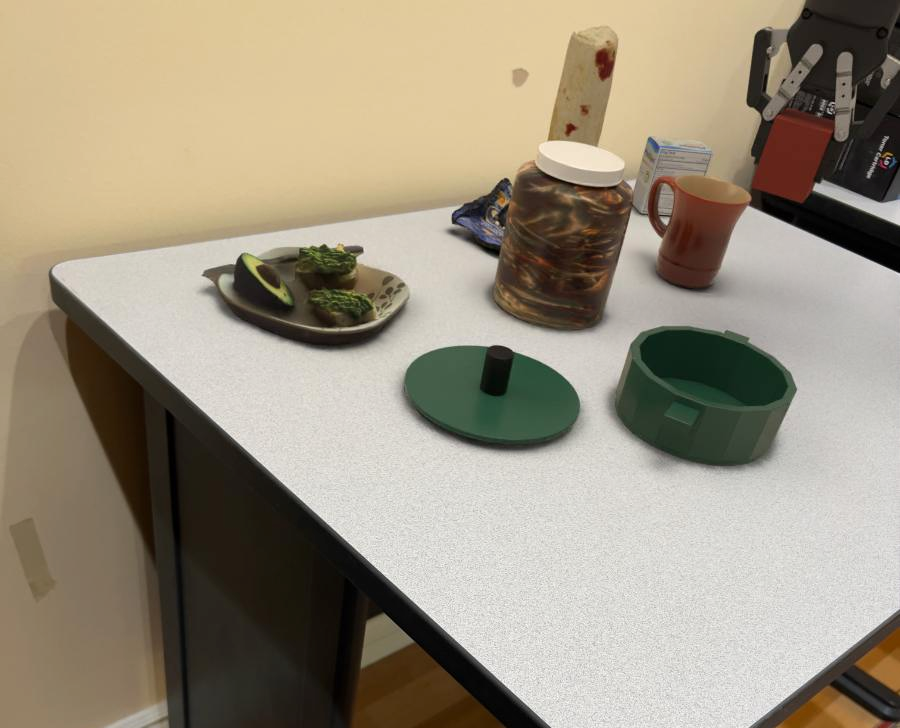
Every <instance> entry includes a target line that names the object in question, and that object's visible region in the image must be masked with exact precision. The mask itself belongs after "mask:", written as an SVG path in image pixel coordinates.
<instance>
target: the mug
mask: <svg viewBox="0 0 900 728" xmlns="http://www.w3.org/2000/svg"><path fill="white" fill-rule="evenodd" d="M664 183H665V184H667V185H668V186H670V188H671V190H672V192H673V193H674V197H673V207H672V212H671V215H669V219H668V221H667V224H666V223H664V221H663V220H662V219H661V217H660V215H659V212H658V204H659V197H660V193H661V189H662V187H663V185H664ZM751 202H752V195H751V194H750V193H749V192H748V190H746V189H744V188H743V187H741V186H739V185H737V184H736V183H732V182H730V181H727V180H725V179H720V178H717V177H712V176H708V175H706V176H702V175H693V174H690V175H681V176H678V177H676V178H675V177H672V176H662V177H659V178H658V179H656V180H655V181H654V183H653V185H652V187H651V190H650V193H649V198H648V214H647V216H648V220H649V223H650V225H651V228H652V229H653V230H654V232H655V233H656V235H657V236H658V237H659V238H661V239H662V240H661V242H660V246H659V248H658V255H657V257H656V258H657V259H656V270H657V272H658V274H659V275H660V277H662V278H663V279H664V280H666V281H667V282H668V283H671V284H673V285H676V286H678V287H681V288H686V289H702V288H705V287H707V286H710V285H711V284H713V283H714V281H715V279H716V277H717V276H718V274H719V272H720V270H721V269H722V266H723V262H724V259H725V256H726V253H727V251H728V247H729V244H730V241H731V238H732V234H733V231H734V229H735V227H736V225H737V223H738V221H739V220H740V218H741V216H742V215H743V213H744V212H745V210H746V209H747V208H748V207H749V205H750V203H751Z"/></svg>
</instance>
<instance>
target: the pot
mask: <svg viewBox="0 0 900 728" xmlns="http://www.w3.org/2000/svg"><path fill="white" fill-rule="evenodd" d="M750 339H751V337H748V336H746V335H744V334H740V333H738V332H735V331H732V330H730V329H725V330H724V331H723V332H721V331H718V330H712V329H707V328H703V327H702V328H701V327H697V326H691V325H662V326H661V325H660V326H658V327H654V328H650V329H646V330H644V331H641V332H639V334H638V335H637V336H636V337H635V338H634V339H633V340H632V341H631V343H630V345H629V348H628V351H627V354H626V358H625V360H624V364H623V367H622V370H621V373H620V377H619V380H618V382H617V387H616V390H615V398H614V408H615V411H616V414H617V416H618V417H619V419H620V421H621V422H622V424H623V425H624V426H625V427H626V428H627V429H628V430H629V431H630V432H631V433H633V434H634V435H635V436H636V437H638V438H639V439H640V440H642V441H643V442H645V443H646V444H648V445H650V446H652V447H653V448H655V449H656V450H658V451H661V452H664V453H666V454H669V455H671V456H672V457H676V458H679V459H683V460H686V461H690V462H693V463H698V464H704V465H711V466H721V467H723V466H725V467H726V466H727V467H729V466H741V465H745V464H750V463H753V462H755V461H757V460H759V459H761V458H763V457H764V456H766V454H767V453H768V452H769V450H770V449H771V446H772V445H773V443H774V441H775V439H776V436H777V435H778V432H779V430H780V428H781V425H782V423H783V421H784V419H785V417H786V415H787V413H788V410H789V408H790V406H791V404H792V402H793V399H795V396H796V394H797V391H798V388H797V385H796V382H795V380H794V377H793V375H792V372H791V371H790V370H789V369H787V367H785V365H783V364H782V363H781V362H780V361H779V360H778V359H777V358H776V357H775V356H774V355H772V354H770V353H769V352H767V351H765V350H763V349H761V348H760V347H759V346H757V345H754V344H752V343H751V342H750Z"/></svg>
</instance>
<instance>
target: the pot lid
mask: <svg viewBox="0 0 900 728" xmlns="http://www.w3.org/2000/svg"><path fill="white" fill-rule="evenodd" d="M403 384H404V391H405V394H406V396H407V398H408V400H409V401H410V403H411V405H413V407H414V409H416V410H417V411H418V412H419V413H420V414H421V415H423V416H424V417H425V418H426V419H428V420H429V421H431V422H432V423H434V424H436V425H438V426H439V427H441V428H444V429H445V430H447V431H450V432H452V433H455V434H458V435H460V436H463V437H466V438H469V439H473V440H477V441H482V442H485V443H486V442H487V443H493V444H502V445H503V444H504V445H530V444H537V443H542V442H545V441H549V440H553V439H555V438H558V437H560V436H562V435H563V434H565V433H566V432H568V431H569V430H570V429H571V428H572V427H573V426H575V424H576V422H577V420H578V417H579V415H580V412H581V401H580V397H579V394H578V392H577V390H576V389H575V387H574V386H573V385H572V383H571V382H570V381H569V380H568V379H567V378H566V377H565V376H563V374H561V373H560V372H558V371H557V370H555V369H554V368H552V367H551V366H550V365H547V364H546V363H544V362H542V361H540V360H537V359H536V358H533V357H531V356H528V355H525V354H522V353H519V352H516V351H513V349H511V348H510V347H508V346H506V345H499V344H493V345H490V346H486V345H485V346H484V345H471V344H470V345H467V344H465V345H451V346H445V347H441V348H436V349H433V350H430V351H428V352H425V353H423V354H420V356H418V357H416V358H415V359H414V360H412V362H411V363H410V364H409V366H408V367H407V368H406V371H405V374H404V381H403Z"/></svg>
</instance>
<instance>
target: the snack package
mask: <svg viewBox="0 0 900 728" xmlns="http://www.w3.org/2000/svg"><path fill="white" fill-rule="evenodd" d="M513 185H514V184H512V183H511V180H510V179H509V178H508V177H504V178H503V179H500V180H499V182H498V183H497V184H496V185H495V186H494V188H492V190H491V191H490V192H489V193H488V194H486V195H481V196H480V197H478V198H476V199H474V200H473V201H469V202H465V203H463V204H462V205H461V206H460V207H459V208H457V209H455V210H454V211H453V212H452V213H451V225H455V226H456V227H458V226H460V227H461V228H465V229H467V230H468V231H470V232H472V233H473V234H474V237H475V239H476V241H474V243H477V245H479V246H483V248H487V249H490V250H495V251H498V252H500V250H501V244H502V239H503V234H504V228H505V223H506V218H507V213H508V208H509V203H510V198H511V194H512V189H513ZM452 231H453V232H455V231H456V230H454V229H452Z"/></svg>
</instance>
